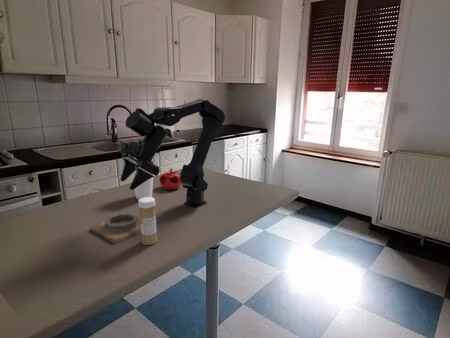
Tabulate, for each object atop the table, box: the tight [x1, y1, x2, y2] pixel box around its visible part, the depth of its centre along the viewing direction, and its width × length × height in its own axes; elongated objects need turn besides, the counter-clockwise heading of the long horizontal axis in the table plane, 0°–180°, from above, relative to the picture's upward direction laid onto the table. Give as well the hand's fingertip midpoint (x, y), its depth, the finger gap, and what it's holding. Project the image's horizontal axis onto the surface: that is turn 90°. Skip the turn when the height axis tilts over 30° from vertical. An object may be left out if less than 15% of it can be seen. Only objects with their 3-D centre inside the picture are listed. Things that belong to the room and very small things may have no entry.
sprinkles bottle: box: [137, 196, 158, 246], centre depth 83 cm, size 5×5×14 cm
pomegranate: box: [159, 167, 182, 191], centre depth 131 cm, size 10×10×9 cm
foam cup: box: [130, 167, 154, 200], centre depth 119 cm, size 10×9×13 cm
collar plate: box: [89, 212, 141, 244], centre depth 93 cm, size 14×14×3 cm
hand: (126, 185), depth 91 cm, fingers open, 9 cm apart
